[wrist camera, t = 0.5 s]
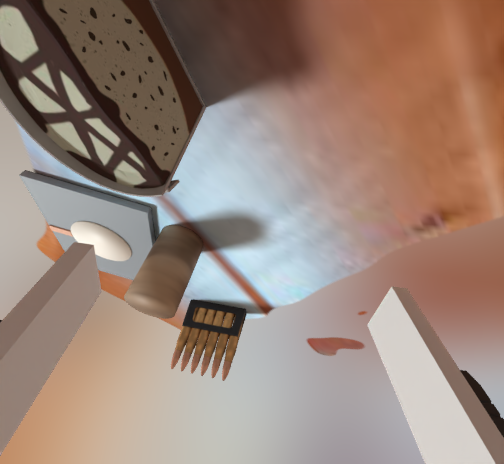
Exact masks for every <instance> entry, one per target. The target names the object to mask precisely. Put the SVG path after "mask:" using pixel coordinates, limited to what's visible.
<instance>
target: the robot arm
mask: <svg viewBox="0 0 504 464" xmlns="http://www.w3.org/2000/svg"><path fill="white" fill-rule="evenodd" d="M100 293H101V286H100V280H99V274H98V268H97V262H96V255H95V249H94V245H92V244H85V243H77V242H74V243H73V244H72V245H71V246H70V247H69V248H68V249H67V251H66V252H65V253H64V254H63V255H62V256H61V257H60V258H59V259H58V260H57V261H56V263H55V264H54V265H53V266H52V267H51V268H50V269H49V270H48V271H47V272H46V274H45V275H44V276H43V277H42V278H41V279H40V280H39V281H38V282H37V283H36V284H35V285H34V287H33V288H32V289H31V290H30V291H29V292H28V293H27V294H26V295H25V296H24V297H23V299H22V300H21V301H20V302H19V303H18V304H17V305H16V306H15V307H14V308H13V309H12V311H11V312H10V313H9V314H8V315H7V316H6V317H5V318H4V319H3V320H0V455H1V454H2V452H3V450H4V449H5V447H6V445H7V444H8V442H9V441H10V439H11V437H12V436H13V434H14V432H15V431H16V429H17V428H18V426H19V425H20V423H21V421H22V420H23V418H24V416H25V415H26V413H27V412H28V410H29V408H30V407H31V405H32V403H33V402H34V400H35V398H36V397H37V395H38V394H39V392H40V390H41V389H42V387H43V386H44V384H45V382H46V381H47V379H48V378H49V376H50V374H51V373H52V371H53V370H54V368H55V366H56V365H57V363H58V361H59V360H60V358H61V357H62V355H63V353H64V351H65V350H66V348H67V347H68V345H69V344H70V342H71V340H72V339H73V337H74V335H75V334H76V332H77V331H78V329H79V327H80V326H81V324H82V323H83V321H84V319H85V318H86V316H87V314H88V313H89V311H90V310H91V308H92V306H93V305H94V303H95V302H96V299H97V298H98V297H99V295H100ZM368 328H369V330H370V332H371V335H372V337H373V340H374V342H375V344H376V347H377V349H378V352H379V354H380V356H381V359H382V361H383V364H384V366H385V368H386V371H387V373H388V376H389V378H390V381H391V383H392V385H393V387H394V390H395V393H396V395H397V397H398V400H399V402H400V405H401V407H402V409H403V412H404V414H405V416H406V419H407V421H408V424H409V426H410V428H411V431H412V433H413V436H414V438H415V440H416V443H417V445H418V447H419V450H420V452H421V455H422V457H423V460H424V462H425V464H504V419H503V418H501V417H500V413H499V412H498V410H497V409H496V407H495V406H494V404H491V400H490V399H489V397H488V396H487V394H486V393H485V391H484V390H483V388H482V387H481V385H480V384H479V383H478V382H477V381H476V380H475V379H474V378H473V377H472V376H471V375H470V374H469V373H468V372H467V371H463V370H459V368H458V367H457V365H456V363H455V362H454V360H453V359H452V357H451V356H450V354H449V353H448V351H447V349H446V348H445V346H444V345H443V344H442V342H441V340H440V339H439V337H438V336H437V334H436V333H435V331H434V329H433V328H432V327H431V325H430V323H429V322H428V320H427V319H426V317H425V315H424V314H423V313H422V311H421V309H420V308H419V306H418V305H417V303H416V302H415V300H414V298H413V297H412V295H411V294H410V292H409V291H408V289H406V288H398V287H391V289H390V290H389V292H388V293H387V295H386V296H385V298H384V299H383V301H382V303H381V304H380V306H379V307H378V309H377V311H376V312H375V314H374V315H373V317H372V318H371V320H370V322H369V323H368Z"/></svg>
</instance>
